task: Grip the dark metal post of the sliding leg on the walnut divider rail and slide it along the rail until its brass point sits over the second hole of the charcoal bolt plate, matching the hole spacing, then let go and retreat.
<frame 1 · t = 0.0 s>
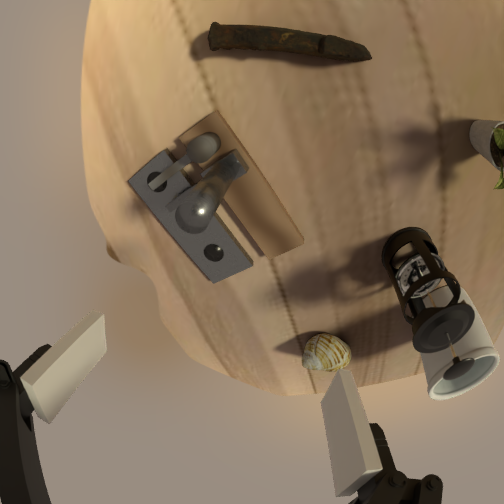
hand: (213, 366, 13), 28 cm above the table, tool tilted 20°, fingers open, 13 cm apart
house plant: (474, 136, 27), on the table
sliding leg: (185, 205, 30), point 9 cm above the table, slide at 0.0 cm
seashell: (326, 341, 54), on the table
hand tool: (291, 40, 25), on the table
french press: (406, 253, 40), on the table
bolt plate: (192, 219, 41), on the table
divider rail: (246, 187, 37), on the table
utensil holder: (438, 309, 45), on the table
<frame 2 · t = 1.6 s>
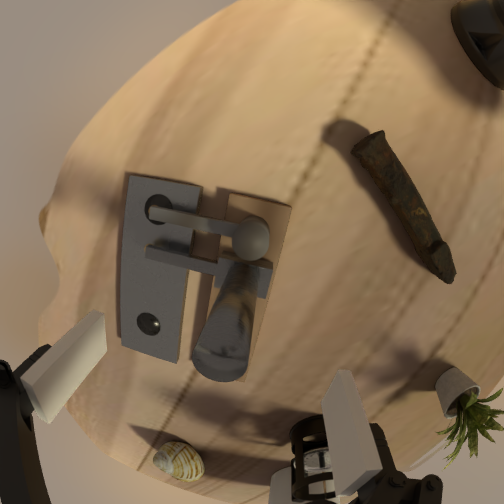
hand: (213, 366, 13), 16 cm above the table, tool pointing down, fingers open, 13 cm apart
house plant: (443, 377, 32), on the table
sliding leg: (184, 289, 20), point 9 cm above the table, slide at 0.0 cm
seashell: (184, 449, 41), on the table
hand tool: (408, 210, 26), on the table
french press: (316, 431, 36), on the table
bolt plate: (154, 276, 30), on the table
divider rail: (239, 297, 30), on the table
utensil holder: (302, 476, 42), on the table
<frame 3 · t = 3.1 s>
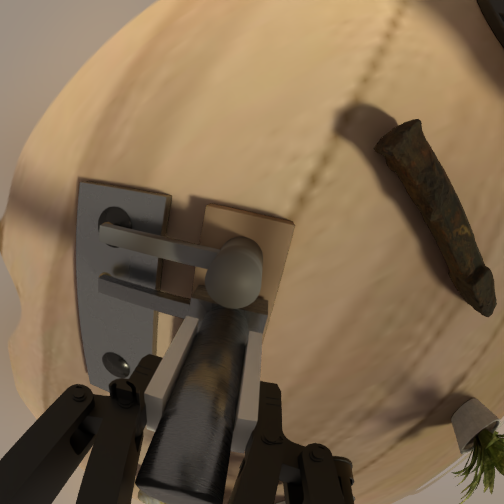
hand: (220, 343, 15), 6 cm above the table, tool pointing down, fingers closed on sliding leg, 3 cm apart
house plant: (460, 409, 25), on the table
sliding leg: (137, 352, 13), point 9 cm above the table, slide at 0.0 cm, touching gripper
seashell: (171, 482, 33), on the table
hand tool: (443, 225, 19), on the table
french press: (317, 471, 29), on the table
bolt plate: (118, 310, 22), on the table
divider rail: (224, 340, 22), on the table
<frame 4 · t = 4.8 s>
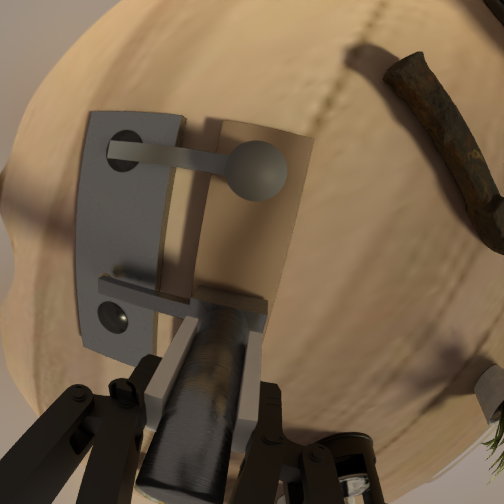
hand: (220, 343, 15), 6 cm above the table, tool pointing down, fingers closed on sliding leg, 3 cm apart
house plant: (483, 377, 23), on the table
sliding leg: (137, 353, 13), point 9 cm above the table, slide at 5.9 cm, touching gripper
hand tool: (455, 160, 17), on the table
french press: (335, 452, 27), on the table
bolt plate: (119, 249, 21), on the table
divider rail: (237, 278, 21), on the table
utensil holder: (313, 497, 32), on the table
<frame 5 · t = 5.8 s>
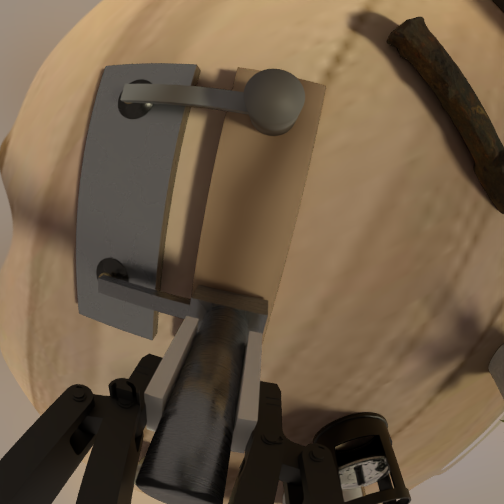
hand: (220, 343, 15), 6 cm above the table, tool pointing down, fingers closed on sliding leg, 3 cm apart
house plant: (497, 354, 22), on the table
sliding leg: (137, 352, 13), point 9 cm above the table, slide at 9.9 cm, touching gripper
hand tool: (460, 121, 16), on the table
french press: (347, 436, 26), on the table
bolt plate: (124, 201, 20), on the table
divider rail: (248, 227, 20), on the table
utensil holder: (321, 490, 31), on the table
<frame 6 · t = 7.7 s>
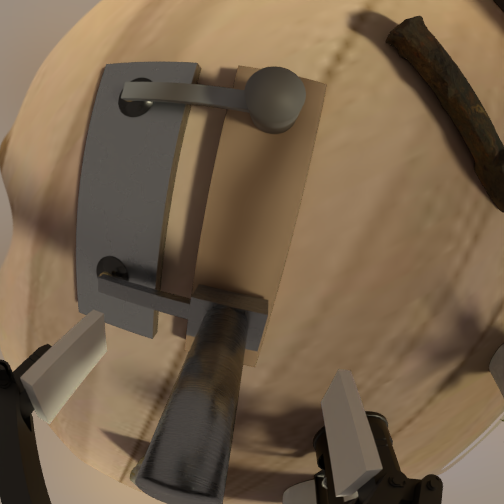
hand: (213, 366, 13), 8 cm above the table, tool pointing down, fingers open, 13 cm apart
house plant: (497, 353, 22), on the table
sliding leg: (137, 352, 13), point 9 cm above the table, slide at 10.0 cm
hand tool: (459, 120, 16), on the table
french press: (347, 436, 26), on the table
bolt plate: (124, 199, 20), on the table
divider rail: (248, 225, 20), on the table
utensil holder: (321, 489, 31), on the table
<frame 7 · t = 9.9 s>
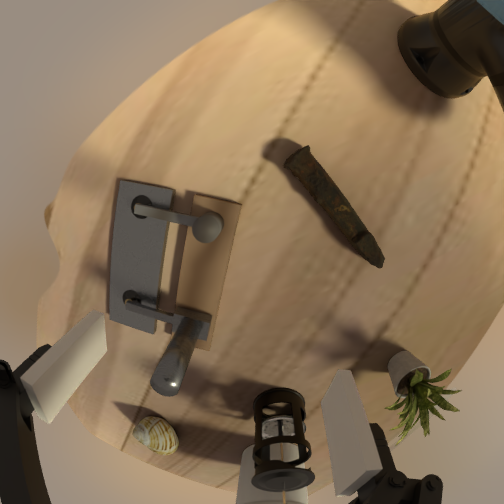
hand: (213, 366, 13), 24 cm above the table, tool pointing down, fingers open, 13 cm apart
house plant: (394, 359, 41), on the table
sliding leg: (149, 338, 30), point 9 cm above the table, slide at 10.0 cm
seashell: (161, 425, 47), on the table
hand tool: (339, 208, 35), on the table
french press: (277, 405, 44), on the table
bolt plate: (137, 260, 37), on the table
divider rail: (203, 277, 38), on the table
utensil holder: (271, 454, 49), on the table
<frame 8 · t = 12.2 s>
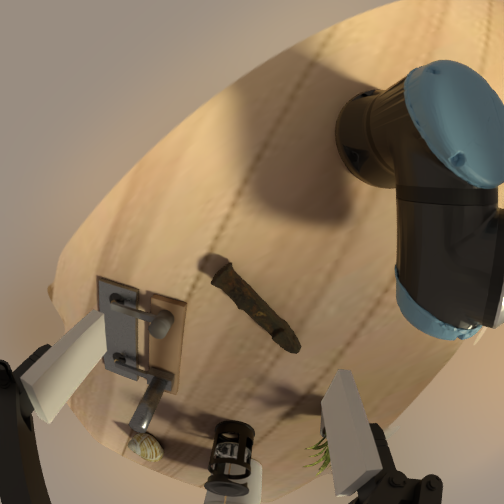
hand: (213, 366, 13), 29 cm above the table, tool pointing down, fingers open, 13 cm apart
house plant: (327, 407, 50), on the table
sliding leg: (130, 392, 41), point 9 cm above the table, slide at 10.0 cm
seashell: (150, 439, 58), on the table
hand tool: (264, 304, 44), on the table
french press: (234, 432, 54), on the table
bolt plate: (120, 333, 48), on the table
divider rail: (166, 348, 48), on the table
utensil holder: (237, 465, 59), on the table
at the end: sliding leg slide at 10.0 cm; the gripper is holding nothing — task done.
